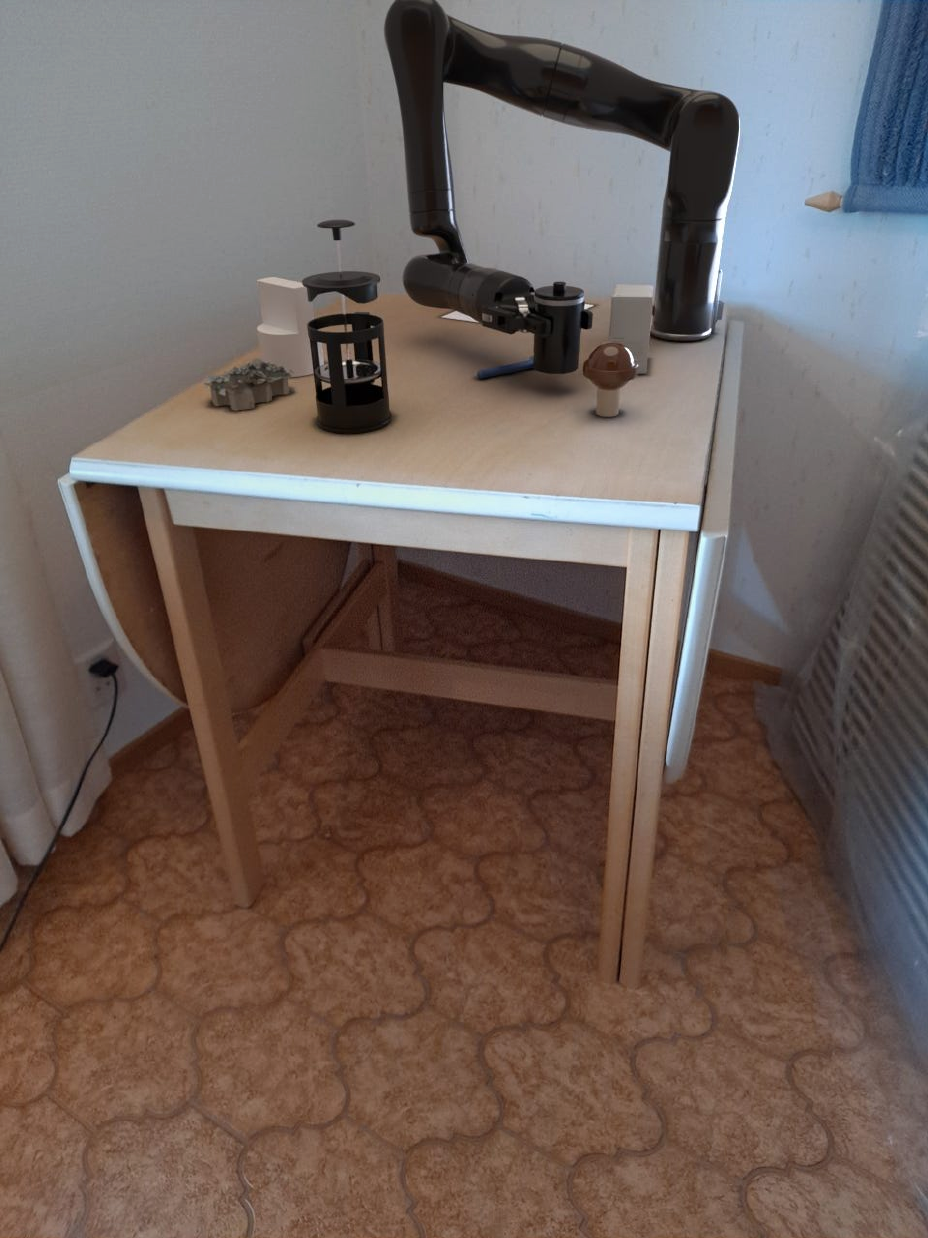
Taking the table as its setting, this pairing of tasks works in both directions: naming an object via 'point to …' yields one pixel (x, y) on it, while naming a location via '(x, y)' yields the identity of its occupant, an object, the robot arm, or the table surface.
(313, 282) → the french press
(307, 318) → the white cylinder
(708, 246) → the robot arm
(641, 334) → the small box
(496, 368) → the round blue paddle
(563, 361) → the pot
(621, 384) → the mushroom
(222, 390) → the egg carton
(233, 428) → the table surface
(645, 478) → the table surface
